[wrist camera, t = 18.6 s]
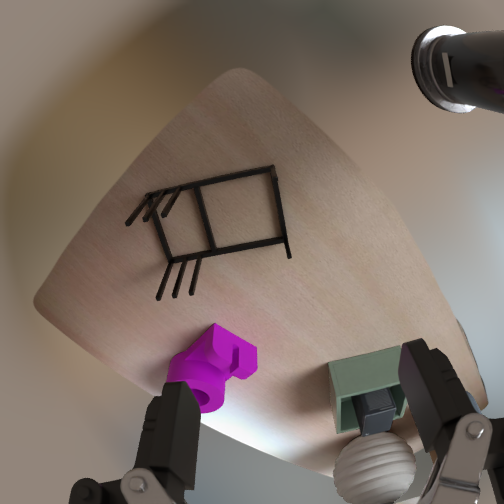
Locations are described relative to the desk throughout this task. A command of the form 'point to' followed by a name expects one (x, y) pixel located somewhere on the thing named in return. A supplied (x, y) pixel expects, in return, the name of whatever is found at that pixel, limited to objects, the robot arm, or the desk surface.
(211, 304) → the desk surface
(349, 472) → the table lamp
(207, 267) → the desk surface
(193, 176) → the desk surface
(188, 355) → the magenta mechanical bracket
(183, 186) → the rack
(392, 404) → the box
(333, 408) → the green storage bin
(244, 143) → the desk surface
